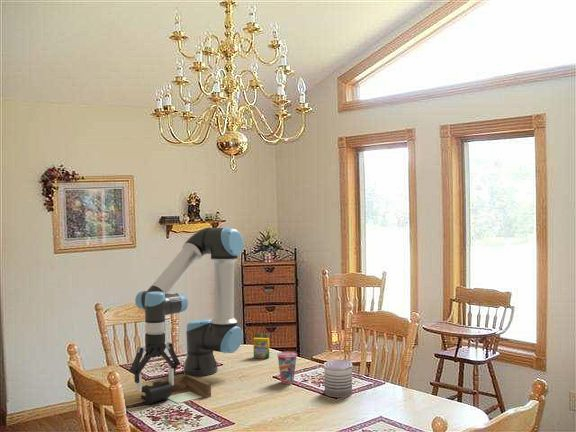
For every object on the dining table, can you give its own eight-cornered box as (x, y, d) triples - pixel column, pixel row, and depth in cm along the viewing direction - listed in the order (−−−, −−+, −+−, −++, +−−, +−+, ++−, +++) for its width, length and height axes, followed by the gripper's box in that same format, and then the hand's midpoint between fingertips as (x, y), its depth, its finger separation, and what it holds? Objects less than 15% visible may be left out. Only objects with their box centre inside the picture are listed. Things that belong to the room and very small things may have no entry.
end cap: (151, 407, 241) (151, 389, 241) (140, 403, 245) (139, 385, 245) (172, 399, 249) (172, 382, 248) (160, 396, 253) (160, 379, 253)
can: (358, 392, 256) (358, 362, 255) (340, 399, 248) (340, 368, 247) (336, 386, 264) (335, 357, 263) (318, 393, 255) (317, 363, 255)
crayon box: (253, 358, 311) (253, 334, 310) (254, 356, 314) (254, 333, 313) (268, 358, 309) (268, 335, 309) (269, 357, 312) (269, 333, 312)
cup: (274, 384, 268) (273, 355, 268) (282, 378, 276) (281, 350, 276) (295, 386, 265) (294, 357, 264) (302, 380, 273) (302, 352, 272)
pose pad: (190, 392, 259) (190, 391, 259) (201, 397, 252) (201, 396, 252) (165, 397, 252) (165, 397, 252) (177, 403, 245) (177, 402, 245)
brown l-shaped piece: (187, 386, 266) (187, 374, 266) (211, 396, 253) (210, 383, 252) (152, 394, 256) (152, 381, 256) (175, 405, 242) (174, 392, 242)
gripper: (179, 327, 257) (179, 380, 257) (120, 335, 241) (120, 391, 241) (188, 329, 251) (188, 384, 251) (129, 338, 235) (129, 396, 236)
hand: (155, 387), depth 246 cm, fingers open, 13 cm apart
